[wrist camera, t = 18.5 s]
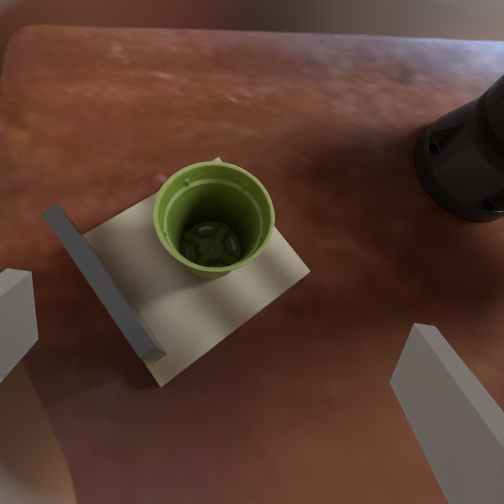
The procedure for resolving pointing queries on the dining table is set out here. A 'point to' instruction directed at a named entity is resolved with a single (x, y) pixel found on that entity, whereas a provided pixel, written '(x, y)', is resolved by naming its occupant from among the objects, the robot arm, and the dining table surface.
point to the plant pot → (213, 217)
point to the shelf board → (188, 286)
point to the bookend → (105, 286)
